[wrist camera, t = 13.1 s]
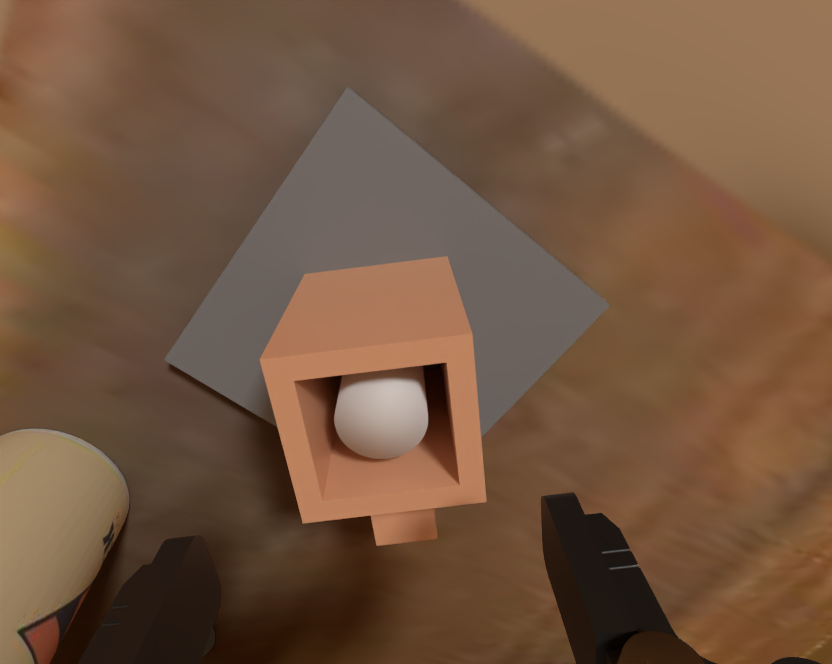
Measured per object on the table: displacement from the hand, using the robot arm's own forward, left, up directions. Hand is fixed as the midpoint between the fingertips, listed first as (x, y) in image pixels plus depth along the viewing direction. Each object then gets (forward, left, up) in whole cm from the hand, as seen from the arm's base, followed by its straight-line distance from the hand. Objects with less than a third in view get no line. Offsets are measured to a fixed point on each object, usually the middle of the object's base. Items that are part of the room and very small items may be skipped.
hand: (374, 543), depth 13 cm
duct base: (0, 0, -13) cm, 13 cm away
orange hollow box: (-1, +1, -12) cm, 12 cm away
